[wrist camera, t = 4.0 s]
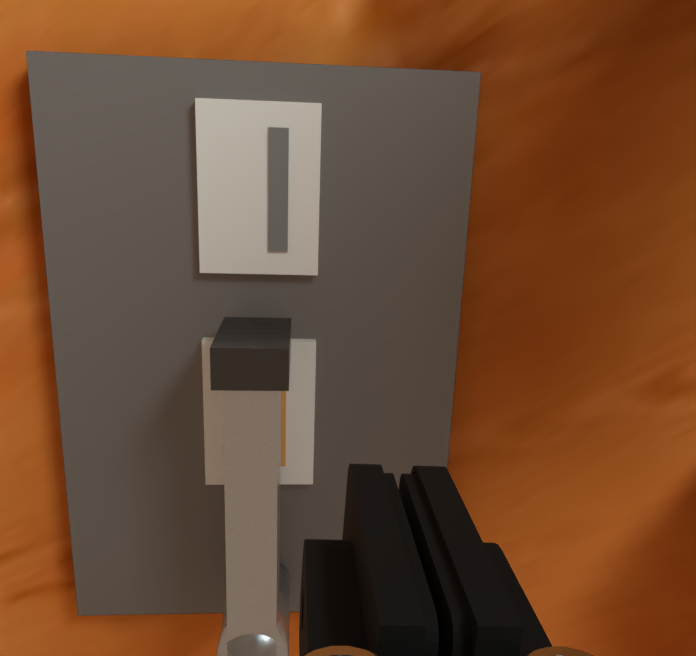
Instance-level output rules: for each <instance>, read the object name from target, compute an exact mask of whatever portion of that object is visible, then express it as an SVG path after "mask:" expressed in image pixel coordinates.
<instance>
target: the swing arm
mask: <svg viewBox="0 0 696 656" xmlns="http://www.w3.org/2000/svg"><path fill="white" fill-rule="evenodd" d="M290 361H291V318H264V317H224V319H223V321H222V323H221V325H220V327H219V329H218V332H217V334H216V336H215V338H214V340H213V342H212V344H211V346H210V381H211V390H220V391H223V435H224V490H225V544H226V603H225V609H224V615H223V621H222V627H221V633H220V639H219V645H218V650H217V656H288V654H289V618H290V575H289V573H288V571H287V569H286V568H285V566H284V565H283V564H282V563H280V472H281V391H289V378H290Z"/></svg>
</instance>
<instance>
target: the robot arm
mask: <svg viewBox="0 0 696 656" xmlns="http://www.w3.org/2000/svg"><path fill="white" fill-rule="evenodd" d="M299 649H300V656H593V655H591V654H589V653H587V652H584V651H581V650H577V649H572V648H568V647H552V645H551V643H550V641H549V639H548V637H547V635H546V633H545V631H544V630H543V628H542V626H541V624H540V622H539V620H538V618H537V616H536V614H535V612H534V611H533V609H532V607H531V605H530V603H529V601H528V599H527V597H526V595H525V593H524V592H523V590H522V588H521V586H520V584H519V582H518V580H517V578H516V576H515V574H514V572H513V571H512V569H511V567H510V565H509V563H508V561H507V559H506V557H505V555H504V553H503V552H502V550H501V548H500V547H499V546H498V544H496V543H483V542H482V540H481V538H480V536H479V534H478V532H477V530H476V527H475V525H474V523H473V521H472V519H471V517H470V515H469V513H468V511H467V509H466V507H465V505H464V503H463V501H462V499H461V497H460V495H459V493H458V491H457V488H456V486H455V484H454V482H453V480H452V478H451V476H450V474H449V472H448V470H447V468H446V467H443V466H413V467H412V470H411V474H403V473H402V474H401V477H400V482H399V490H398V487H397V483H396V480H395V477H394V474H393V473H384V472H383V468H382V466H381V465H380V464H349V468H348V476H347V488H346V500H345V512H344V524H343V536H342V540H332V539H305V540H304V547H303V560H302V575H301V593H300V625H299Z"/></svg>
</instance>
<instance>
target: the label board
mask: <svg viewBox="0 0 696 656" xmlns="http://www.w3.org/2000/svg"><path fill="white" fill-rule="evenodd" d="M26 57H27V68H28V79H29V89H30V100H31V111H32V122H33V133H34V144H35V155H36V165H37V176H38V187H39V198H40V209H41V220H42V231H43V242H44V252H45V263H46V274H47V285H48V296H49V307H50V318H51V328H52V339H53V350H54V361H55V372H56V383H57V394H58V404H59V415H60V426H61V437H62V448H63V459H64V470H65V480H66V491H67V502H68V513H69V524H70V535H71V546H72V556H73V567H74V578H75V589H76V600H77V611H78V616H86V615H141V614H196V613H224V609H225V603H226V544H225V490H224V435H223V391H220V390H211V381H210V346H211V344H212V342H213V340H214V338H215V336H216V334H217V332H218V329H219V327H220V325H221V323H222V321H223V319H224V317H264V318H291V361H290V378H289V391H281V472H280V563H282V564H283V565H284V566H285V568H286V569H287V571H288V573H289V575H290V612H300V593H301V575H302V560H303V547H304V540H305V539H332V540H342V536H343V524H344V512H345V500H346V488H347V476H348V468H349V464H380V465H381V466H382V468H383V472H384V473H393V474H394V477H395V480H396V483H397V487H398V490H399V482H400V477H401V474H402V473H403V474H411V470H412V467H413V466H443V467H446V468H447V467H448V455H449V443H450V432H451V420H452V408H453V396H454V385H455V373H456V361H457V349H458V337H459V326H460V314H461V302H462V290H463V278H464V267H465V255H466V243H467V231H468V219H469V208H470V196H471V184H472V172H473V160H474V149H475V137H476V125H477V113H478V101H479V90H480V78H481V72H469V71H448V70H426V69H405V68H384V67H363V66H341V65H320V64H299V63H277V62H256V61H235V60H213V59H192V58H171V57H149V56H128V55H107V54H85V53H64V52H43V51H26Z"/></svg>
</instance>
